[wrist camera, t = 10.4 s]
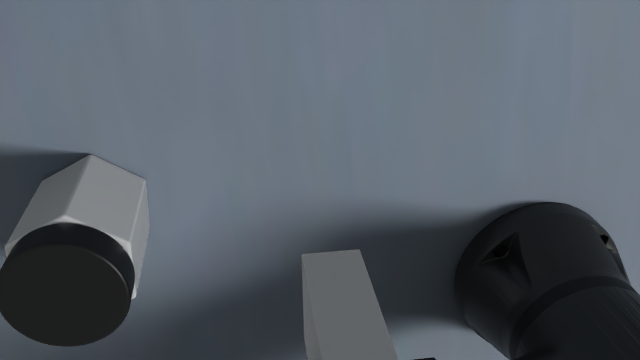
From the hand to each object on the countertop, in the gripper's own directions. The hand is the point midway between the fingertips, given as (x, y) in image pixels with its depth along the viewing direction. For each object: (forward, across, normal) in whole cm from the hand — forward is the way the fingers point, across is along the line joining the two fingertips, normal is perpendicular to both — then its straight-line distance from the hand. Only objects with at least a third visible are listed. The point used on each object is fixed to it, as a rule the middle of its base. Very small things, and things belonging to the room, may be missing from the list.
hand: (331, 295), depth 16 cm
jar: (+32, +14, +14) cm, 38 cm away
